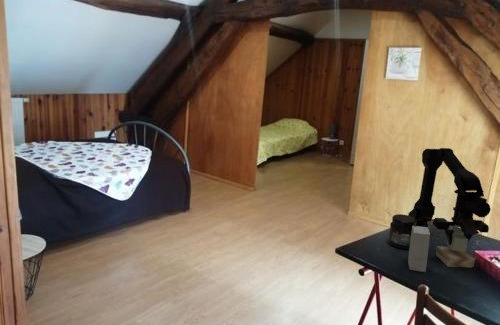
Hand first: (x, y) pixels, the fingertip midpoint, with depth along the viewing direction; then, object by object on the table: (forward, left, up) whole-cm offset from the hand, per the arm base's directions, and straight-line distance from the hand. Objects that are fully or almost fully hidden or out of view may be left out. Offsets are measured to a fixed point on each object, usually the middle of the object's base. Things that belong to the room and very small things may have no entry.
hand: (456, 245), depth 155 cm
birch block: (0, 0, -7) cm, 7 cm away
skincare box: (-17, -7, -7) cm, 20 cm away
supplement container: (-17, +12, -7) cm, 22 cm away
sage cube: (0, 0, -1) cm, 1 cm away
